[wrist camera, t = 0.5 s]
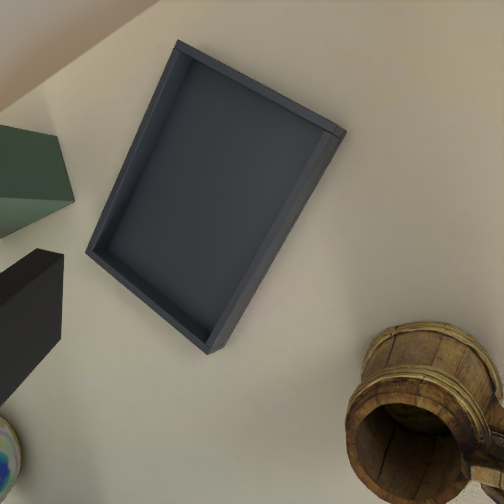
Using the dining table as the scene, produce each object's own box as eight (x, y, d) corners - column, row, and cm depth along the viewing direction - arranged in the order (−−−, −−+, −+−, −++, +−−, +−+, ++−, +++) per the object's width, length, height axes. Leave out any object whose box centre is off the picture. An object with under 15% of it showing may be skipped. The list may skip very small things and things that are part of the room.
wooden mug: (575, 477, 29) (700, 798, 13) (359, 429, 35) (259, 608, 19) (587, 338, 28) (736, 493, 12) (365, 312, 34) (267, 394, 18)
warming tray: (195, 49, 39) (177, 38, 37) (347, 131, 34) (337, 124, 32) (104, 251, 45) (84, 252, 43) (223, 348, 40) (207, 356, 37)
